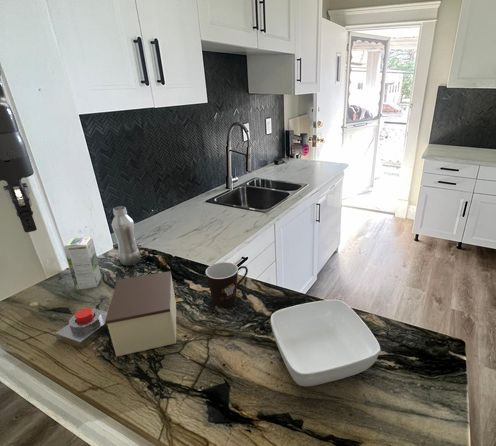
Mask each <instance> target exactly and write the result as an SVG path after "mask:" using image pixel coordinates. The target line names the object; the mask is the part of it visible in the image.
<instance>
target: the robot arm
mask: <svg viewBox="0 0 496 446" xmlns="http://www.w3.org/2000/svg"><path fill="white" fill-rule="evenodd" d="M1 75H2V69H1V67H0V77H1ZM34 173H35V172H34V168H33V165H32V162H31V159H30V156H29V153H28V149H27V146H26V143H25V141H24V139H23V136H22V134H21V132H20V129H19V127H18V123H17V119H16V116H15V113H14V111H13V109H12V106H10V104H9V102H8V100H7V97H6V92H5V90H4V86H3V83H2V79H1V78H0V182H1V181H5V182H6V185H3V186H2V188H3V191H4V194H5V196H6V197H7V198H8V200H9V204H10V205H11V208H12V209H13V210H15V211H16V217H18V218H19V220H20V222H21V225H22V229H23V231H24V233H31V232H35V231H37V226H36V222H35V219H34V217H33V216H34V211H33V209H32V206H33V202H32V199H31V196H30V192H31V190H30V188H29V186H28V184H27V182H22V180H23V179H24V178H29V177H31V176H33V175H34Z"/></svg>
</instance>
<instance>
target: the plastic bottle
mask: <svg viewBox="0 0 496 446" xmlns="http://www.w3.org/2000/svg"><path fill="white" fill-rule="evenodd" d="M112 211H113V212H112V213H113V219H112V221H111V228H112V230H113V234H114V235H115V238H116V242H117V248H118V260H119V262H120V263H121V264H122V265H123V266H133V265H137V264H138V263H139V262H140V260H141V252H140V250H139V247H138V244H137V242H136V241H137V240H136V235H135V221H134V219H133V218H131V216H129V215H128V210H127V208H126V206H123V205H120V206H116V207H113V209H112Z"/></svg>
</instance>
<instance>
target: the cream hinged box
mask: <svg viewBox="0 0 496 446" xmlns="http://www.w3.org/2000/svg"><path fill="white" fill-rule="evenodd" d="M107 325H108V333H109V335H110V340H111V343H112V346H113V349H114V353H115V357H120V356H125V355H129V354H133V353H138V352H144V351H147V350H152V349H156V348H162V347H165V346H170V345H175V344H177V302H176V295H175V289H174V283H173V277H172V275H171V298H170V312H166V313H160V314H155V315H150V316H145V317H140V318H135V319H130V320H125V321H119V322H114V323H109V324H107Z"/></svg>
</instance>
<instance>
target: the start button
mask: <svg viewBox="0 0 496 446" xmlns="http://www.w3.org/2000/svg"><path fill="white" fill-rule="evenodd" d="M74 315H75V318H76V321H77V323H78V324H82V323H86V322H89V321H91V320H92V319H93V318H94V314H93V310H92V308H89V307H87V308H83V309H80V310H78V311H77V312H76V313H75V314H74Z"/></svg>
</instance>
